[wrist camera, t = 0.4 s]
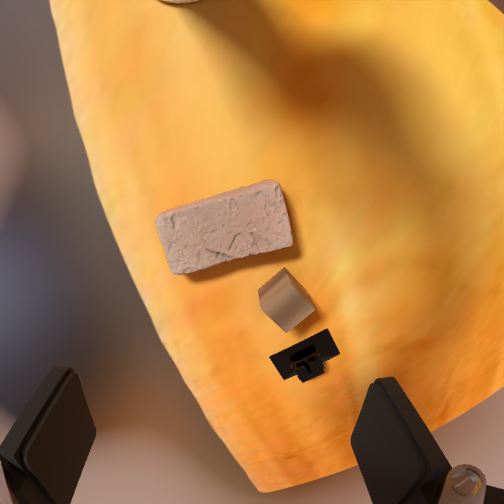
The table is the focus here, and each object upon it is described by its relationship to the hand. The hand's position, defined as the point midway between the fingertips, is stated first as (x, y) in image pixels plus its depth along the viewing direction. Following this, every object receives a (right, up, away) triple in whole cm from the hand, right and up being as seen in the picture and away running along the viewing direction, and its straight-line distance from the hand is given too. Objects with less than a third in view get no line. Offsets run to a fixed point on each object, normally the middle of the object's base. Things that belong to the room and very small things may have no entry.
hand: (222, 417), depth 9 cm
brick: (-3, +9, +34) cm, 35 cm away
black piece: (+9, -12, +42) cm, 44 cm away
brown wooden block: (+5, 0, +37) cm, 37 cm away
